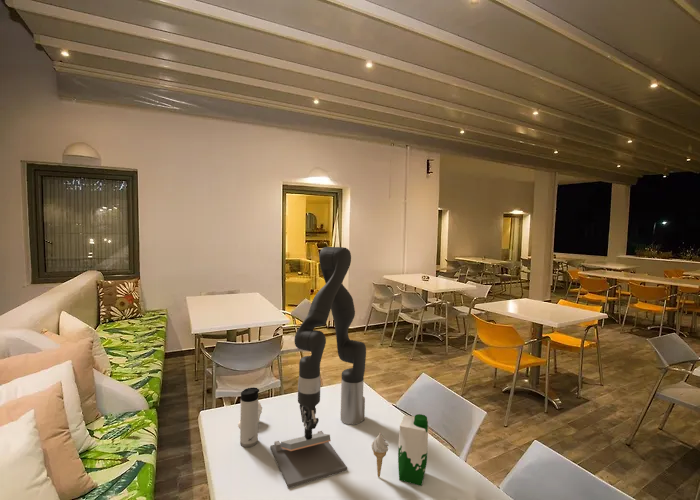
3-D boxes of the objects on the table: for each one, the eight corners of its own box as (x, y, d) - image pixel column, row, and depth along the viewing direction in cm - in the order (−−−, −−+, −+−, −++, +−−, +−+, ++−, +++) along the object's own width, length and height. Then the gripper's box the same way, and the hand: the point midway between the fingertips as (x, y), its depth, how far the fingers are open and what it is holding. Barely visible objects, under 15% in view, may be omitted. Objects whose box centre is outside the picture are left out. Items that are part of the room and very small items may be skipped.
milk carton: (424, 488, 112) (426, 425, 111) (395, 481, 115) (397, 419, 114) (427, 471, 121) (430, 412, 120) (400, 465, 124) (402, 407, 123)
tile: (318, 433, 135) (329, 434, 125) (318, 439, 135) (330, 441, 125) (281, 441, 129) (290, 444, 119) (281, 448, 128) (291, 451, 118)
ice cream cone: (369, 471, 120) (370, 427, 119) (386, 471, 120) (387, 426, 119) (371, 483, 114) (372, 436, 113) (389, 482, 115) (390, 436, 114)
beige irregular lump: (263, 399, 150) (246, 415, 139) (264, 418, 151) (247, 436, 140) (249, 396, 152) (232, 413, 140) (250, 415, 153) (233, 433, 142)
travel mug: (253, 448, 131) (254, 394, 130) (236, 446, 132) (237, 391, 131) (261, 439, 137) (262, 386, 136) (245, 436, 138) (245, 384, 137)
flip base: (322, 436, 140) (322, 427, 139) (347, 470, 120) (347, 460, 120) (270, 448, 131) (270, 439, 131) (288, 488, 111) (288, 477, 111)
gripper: (326, 394, 119) (325, 445, 120) (312, 379, 131) (311, 426, 132) (305, 398, 116) (304, 451, 117) (292, 382, 128) (291, 430, 128)
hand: (308, 437), depth 124 cm, fingers closed
